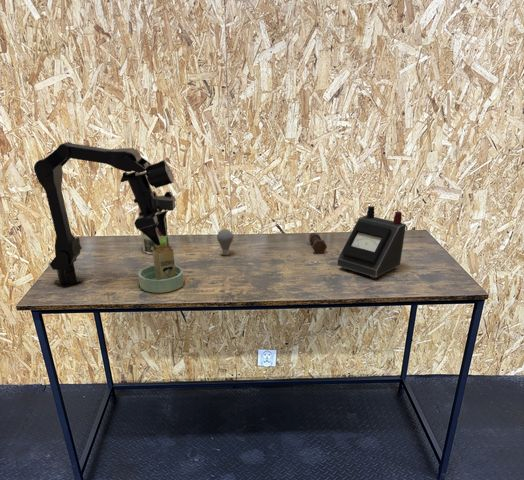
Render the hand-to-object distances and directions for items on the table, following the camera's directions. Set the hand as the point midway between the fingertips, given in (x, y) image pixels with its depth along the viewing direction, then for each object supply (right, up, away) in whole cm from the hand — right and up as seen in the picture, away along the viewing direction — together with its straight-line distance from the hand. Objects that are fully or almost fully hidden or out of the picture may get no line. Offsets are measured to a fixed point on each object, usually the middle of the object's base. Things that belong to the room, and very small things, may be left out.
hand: (162, 240), depth 158 cm
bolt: (+54, +6, +41) cm, 67 cm away
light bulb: (+18, +1, +33) cm, 37 cm away
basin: (-2, -13, +8) cm, 15 cm away
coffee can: (-10, +4, +37) cm, 39 cm away
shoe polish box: (0, -13, +8) cm, 15 cm away
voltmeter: (+70, -6, +20) cm, 73 cm away
